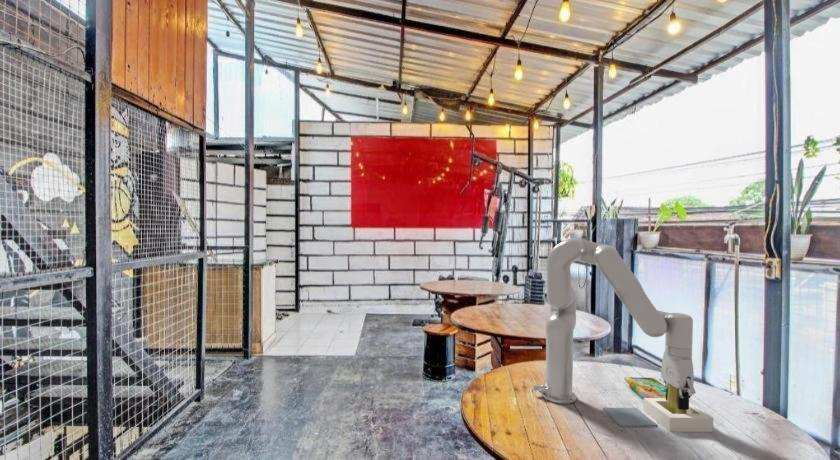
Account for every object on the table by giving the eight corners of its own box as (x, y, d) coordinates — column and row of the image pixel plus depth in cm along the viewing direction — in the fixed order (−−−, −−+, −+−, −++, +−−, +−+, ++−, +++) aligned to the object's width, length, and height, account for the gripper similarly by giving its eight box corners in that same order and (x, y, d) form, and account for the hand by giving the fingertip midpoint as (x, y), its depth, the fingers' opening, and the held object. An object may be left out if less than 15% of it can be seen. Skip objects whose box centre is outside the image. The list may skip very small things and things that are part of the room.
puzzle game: (650, 396, 141) (624, 374, 161) (649, 409, 141) (623, 386, 161) (684, 397, 140) (653, 375, 160) (683, 410, 140) (653, 387, 160)
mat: (621, 426, 128) (621, 425, 128) (602, 409, 140) (602, 407, 140) (657, 426, 128) (657, 425, 128) (636, 409, 140) (636, 407, 140)
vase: (684, 418, 134) (685, 376, 134) (689, 426, 129) (691, 383, 128) (663, 414, 136) (664, 373, 136) (668, 423, 131) (669, 380, 130)
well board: (669, 431, 125) (670, 417, 125) (643, 410, 139) (643, 397, 139) (712, 431, 126) (713, 417, 126) (682, 410, 140) (682, 398, 140)
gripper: (651, 343, 140) (650, 393, 141) (685, 360, 123) (683, 417, 124) (672, 343, 141) (670, 393, 141) (708, 360, 124) (707, 417, 124)
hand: (676, 404), depth 132 cm, fingers closed on vase, 5 cm apart
